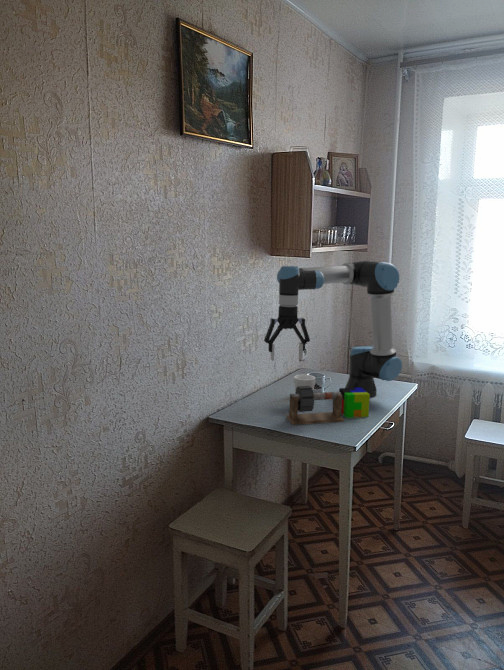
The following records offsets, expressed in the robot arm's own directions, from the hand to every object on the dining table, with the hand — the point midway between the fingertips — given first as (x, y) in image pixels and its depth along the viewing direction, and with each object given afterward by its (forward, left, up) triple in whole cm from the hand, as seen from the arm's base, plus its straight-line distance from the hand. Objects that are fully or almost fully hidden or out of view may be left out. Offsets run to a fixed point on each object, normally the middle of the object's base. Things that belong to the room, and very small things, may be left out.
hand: (286, 359), depth 219 cm
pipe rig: (-13, 0, -26) cm, 29 cm away
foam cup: (-14, -19, -26) cm, 35 cm away
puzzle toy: (-32, -5, -26) cm, 42 cm away
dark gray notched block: (-8, 0, -17) cm, 19 cm away
